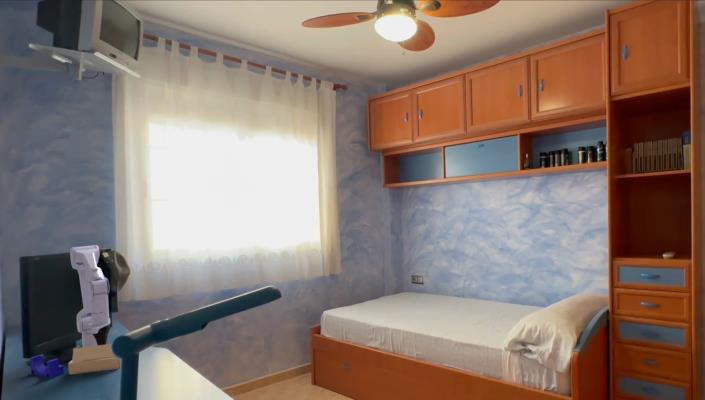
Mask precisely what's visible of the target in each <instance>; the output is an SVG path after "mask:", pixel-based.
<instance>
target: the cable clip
mask: <svg viewBox="0 0 705 400" xmlns="http://www.w3.org/2000/svg"><path fill="white" fill-rule="evenodd" d="M29 361H30V362H29V363H30V374H31V375H33V376H34V375H35V376H37V377H38V376H39V377H42V378H46V379H53V378H56V377H58V376H61V375H63V374H65V373H64V369H65V368H64V365H61V364H59V358H54V359H50V360H48V361H46V365H45V363H44V361H43V357H42V355H41V354H38V355H35V356H32V357H30V359H29Z"/></svg>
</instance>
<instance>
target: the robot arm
mask: <svg viewBox="0 0 705 400" xmlns="http://www.w3.org/2000/svg"><path fill="white" fill-rule="evenodd" d="M69 258H70V263H71V264H70V266H71V267H72V269H74V270H76V271H77V274H78V278H79V285H80V292H81V298H82V299H81V300H82V305H83V306H82V307H83V308H82V309H81V310H80V311H79V312H78V313H77V314H76V328H77V332H79V333H80V334H81V341H82V343H81V344H82V347H89V346H98V345H107V341H108V336H109V332H110V330H111V328H112V326H111V318H110V310H109V294H110V288H111V287H110V282H109V279H108V278H107V277H105V275H104V273H103V271H102V269H101V267H98V263H99V260H100V259H99V258H100V247H99V246H98V245H97V244H93V245H85V246H72V247H71V248H70V249H69Z"/></svg>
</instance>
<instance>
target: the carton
mask: <svg viewBox="0 0 705 400" xmlns="http://www.w3.org/2000/svg"><path fill="white" fill-rule="evenodd" d="M67 368H68V375H78V374H86V373H94V372H95V373H96V372H101V371H103V372H104V371H110V370H111V371H112V370H118V369H120V368H121V367H120V361H119V360H118V359H117V358H115V357H107V358H98V359H90V360H81V361H73V362H72V359H71V360H70V361H69V362H68V367H67Z"/></svg>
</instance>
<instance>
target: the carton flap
mask: <svg viewBox="0 0 705 400" xmlns="http://www.w3.org/2000/svg"><path fill="white" fill-rule="evenodd" d="M111 344H112V343H106V345H98V346H89V347H83V346H82V347H74V348H73V349H72V351H73V352H72V359H71V360H72V362H73V361H81V360H90V359H98V358H107V357H114V355H113V353H112V349H111Z"/></svg>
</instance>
